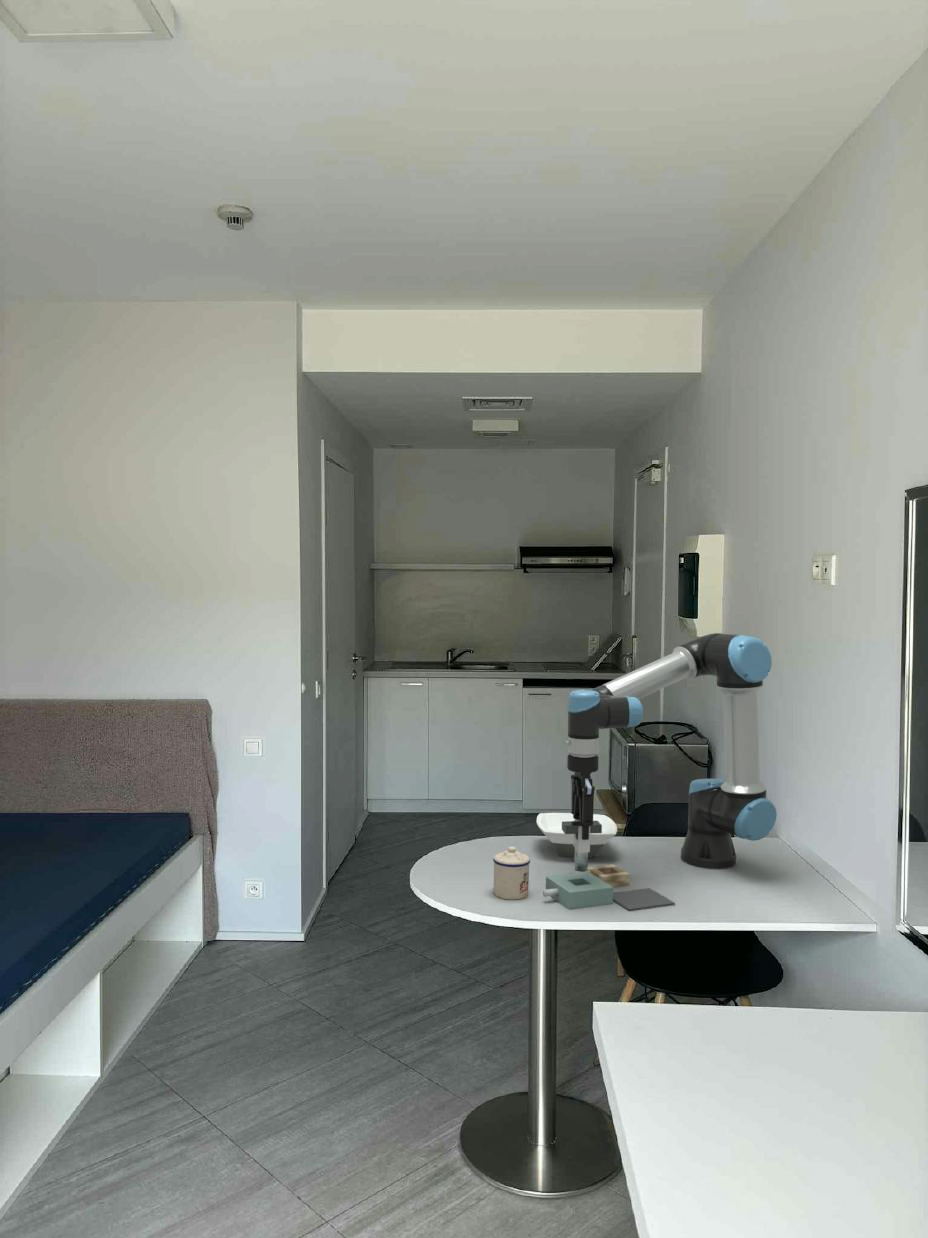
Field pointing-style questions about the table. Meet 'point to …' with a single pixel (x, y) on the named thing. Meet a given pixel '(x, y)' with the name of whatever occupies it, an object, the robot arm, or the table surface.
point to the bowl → (564, 842)
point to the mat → (640, 899)
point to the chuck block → (578, 890)
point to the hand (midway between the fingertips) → (581, 848)
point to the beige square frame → (611, 875)
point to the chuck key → (572, 828)
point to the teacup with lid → (511, 874)
